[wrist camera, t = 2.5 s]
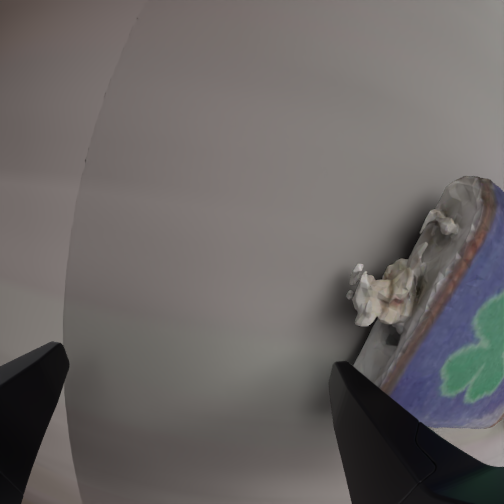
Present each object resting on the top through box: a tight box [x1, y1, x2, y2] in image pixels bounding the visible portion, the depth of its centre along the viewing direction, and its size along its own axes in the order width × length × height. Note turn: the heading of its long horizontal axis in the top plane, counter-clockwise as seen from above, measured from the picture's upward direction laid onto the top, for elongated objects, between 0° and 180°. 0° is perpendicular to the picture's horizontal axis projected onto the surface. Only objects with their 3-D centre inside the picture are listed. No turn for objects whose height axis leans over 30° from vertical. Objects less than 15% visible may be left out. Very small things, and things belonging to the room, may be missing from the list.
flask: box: [346, 176, 504, 429], centre depth 9 cm, size 9×3×11 cm
